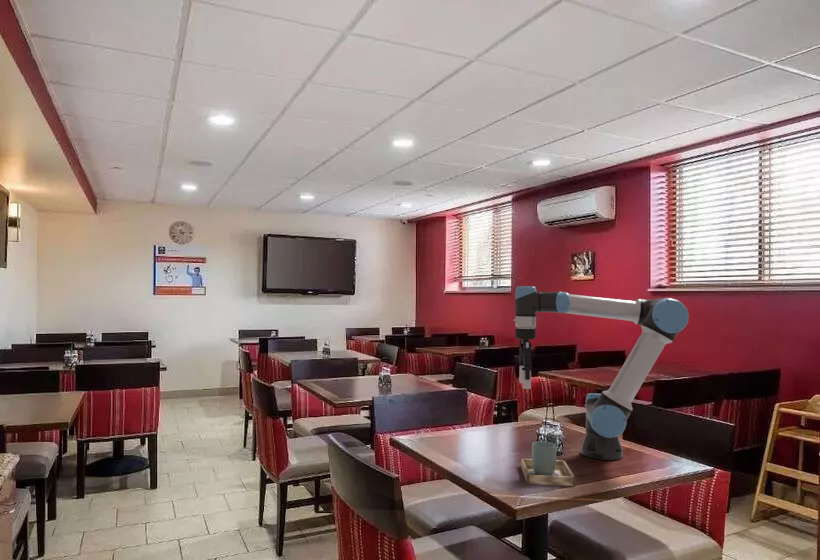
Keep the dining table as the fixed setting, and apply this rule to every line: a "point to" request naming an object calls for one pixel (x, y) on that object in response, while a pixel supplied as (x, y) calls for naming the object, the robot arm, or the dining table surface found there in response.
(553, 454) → the cup
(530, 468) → the wooden tray
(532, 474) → the pad
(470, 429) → the dining table surface
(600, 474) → the dining table surface
